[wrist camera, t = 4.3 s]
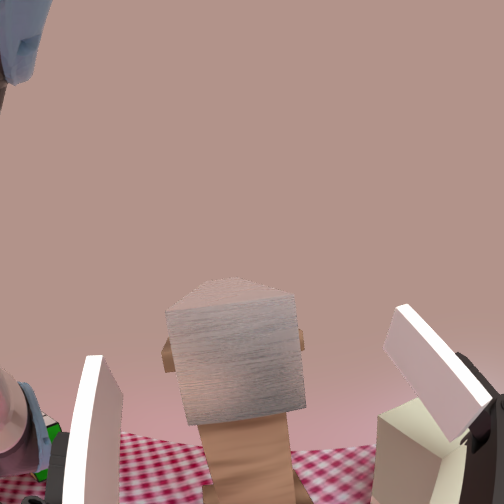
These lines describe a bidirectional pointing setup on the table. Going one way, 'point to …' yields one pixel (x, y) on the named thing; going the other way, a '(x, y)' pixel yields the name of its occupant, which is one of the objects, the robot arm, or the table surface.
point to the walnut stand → (248, 457)
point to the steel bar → (236, 351)
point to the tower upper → (416, 459)
